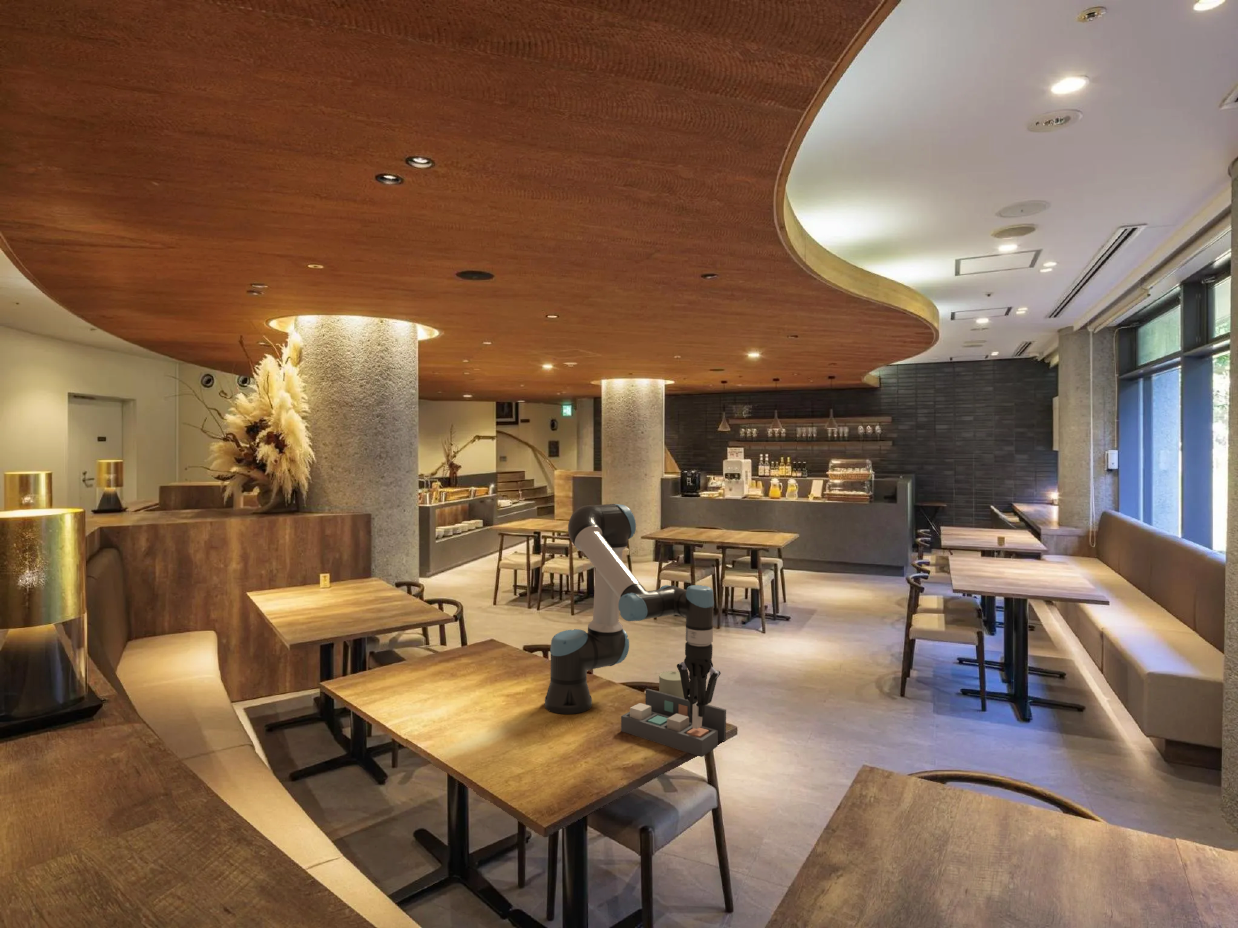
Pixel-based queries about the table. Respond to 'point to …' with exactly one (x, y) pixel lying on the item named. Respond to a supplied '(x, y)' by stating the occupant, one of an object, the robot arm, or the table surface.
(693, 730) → the key
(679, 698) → the screen
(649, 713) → the key
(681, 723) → the grey block
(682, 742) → the key frame
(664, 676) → the can
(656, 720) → the key
